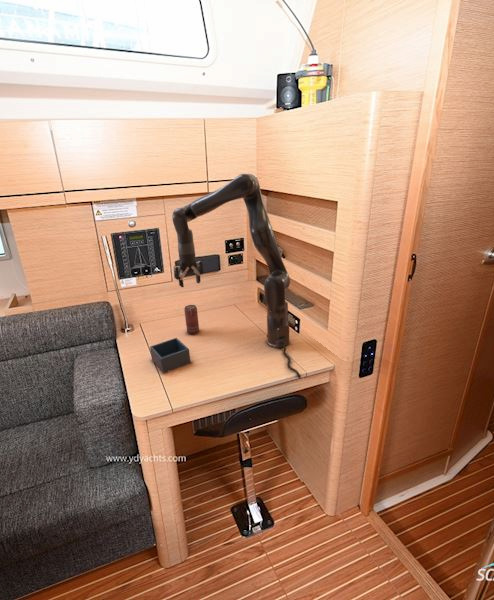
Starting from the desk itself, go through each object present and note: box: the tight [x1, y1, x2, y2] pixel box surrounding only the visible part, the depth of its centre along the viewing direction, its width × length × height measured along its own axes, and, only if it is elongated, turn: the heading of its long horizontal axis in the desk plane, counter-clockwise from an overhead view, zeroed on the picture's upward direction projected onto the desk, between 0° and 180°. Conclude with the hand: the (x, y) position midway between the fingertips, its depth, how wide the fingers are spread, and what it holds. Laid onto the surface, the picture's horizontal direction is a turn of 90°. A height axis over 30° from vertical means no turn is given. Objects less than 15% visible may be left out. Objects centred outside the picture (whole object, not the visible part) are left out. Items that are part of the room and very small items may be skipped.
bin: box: [149, 337, 191, 374], centre depth 143 cm, size 13×13×7 cm
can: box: [183, 304, 200, 336], centre depth 165 cm, size 6×6×14 cm
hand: (190, 284), depth 160 cm, fingers open, 8 cm apart
